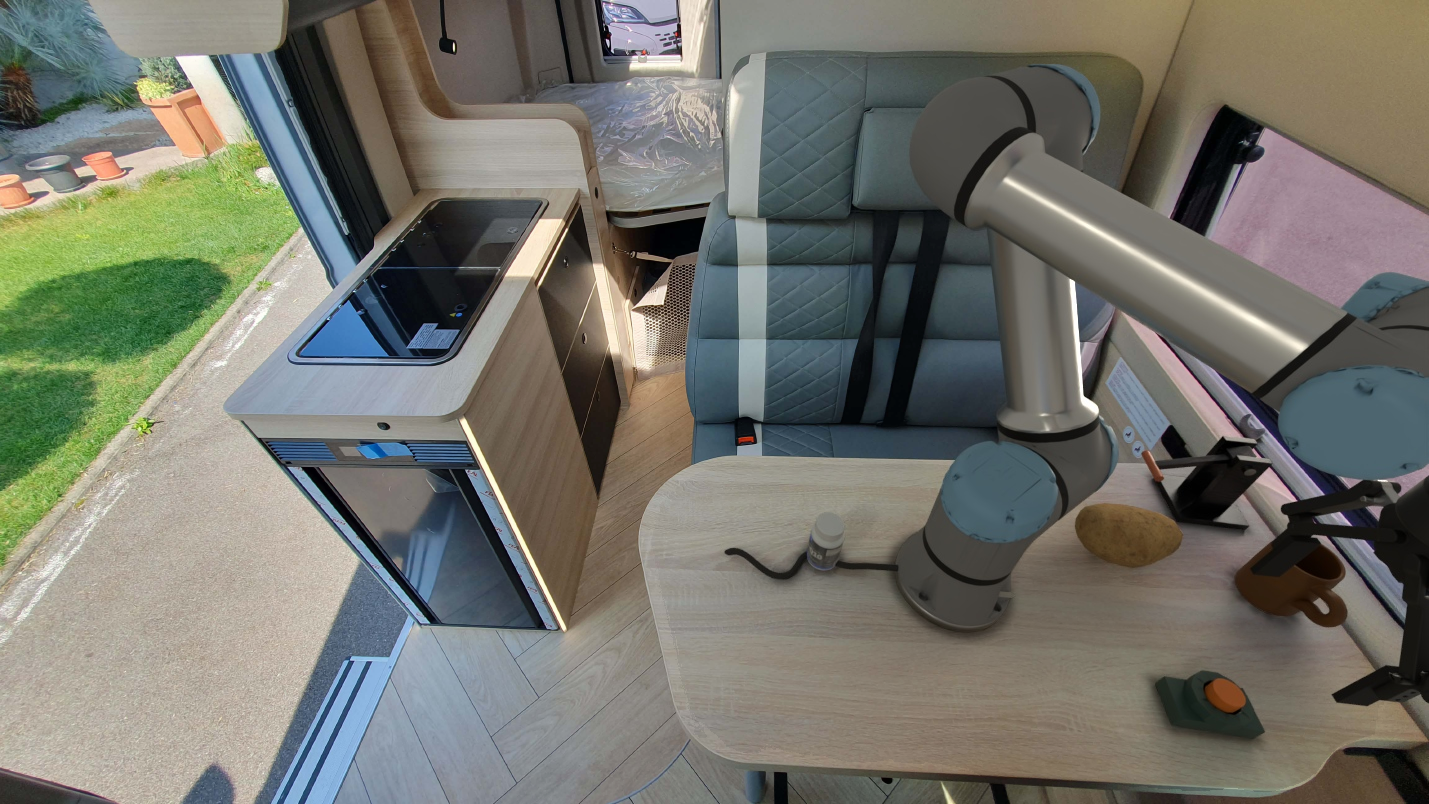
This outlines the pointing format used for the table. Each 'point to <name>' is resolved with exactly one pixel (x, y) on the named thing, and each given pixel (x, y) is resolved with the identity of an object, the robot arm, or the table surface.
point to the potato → (1127, 534)
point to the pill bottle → (826, 541)
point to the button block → (1205, 707)
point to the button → (1225, 695)
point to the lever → (1193, 460)
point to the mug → (1297, 587)
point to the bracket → (1214, 488)
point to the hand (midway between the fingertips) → (1302, 631)
